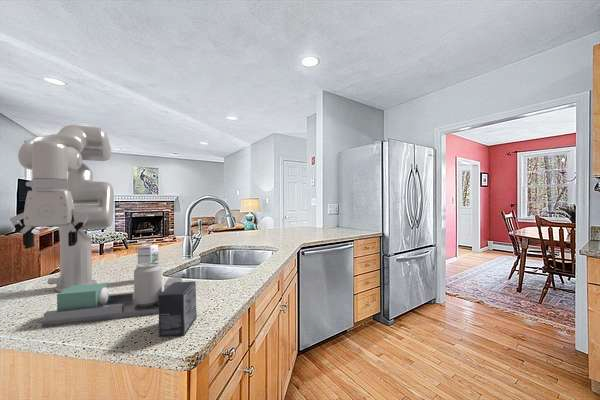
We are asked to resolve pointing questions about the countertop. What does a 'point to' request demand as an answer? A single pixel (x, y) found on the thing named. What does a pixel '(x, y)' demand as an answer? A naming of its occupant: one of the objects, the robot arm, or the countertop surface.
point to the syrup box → (147, 253)
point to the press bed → (127, 313)
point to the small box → (177, 308)
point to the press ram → (82, 296)
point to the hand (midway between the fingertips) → (51, 246)
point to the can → (147, 283)
